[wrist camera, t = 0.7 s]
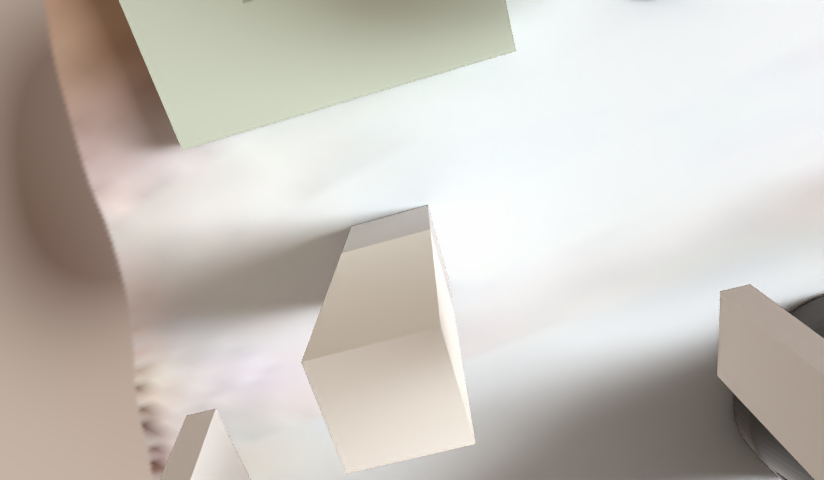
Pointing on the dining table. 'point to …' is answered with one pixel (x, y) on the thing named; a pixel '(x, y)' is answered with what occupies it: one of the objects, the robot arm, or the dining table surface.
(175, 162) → the dining table surface
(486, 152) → the dining table surface
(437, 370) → the plug
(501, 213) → the dining table surface
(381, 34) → the socket plate
